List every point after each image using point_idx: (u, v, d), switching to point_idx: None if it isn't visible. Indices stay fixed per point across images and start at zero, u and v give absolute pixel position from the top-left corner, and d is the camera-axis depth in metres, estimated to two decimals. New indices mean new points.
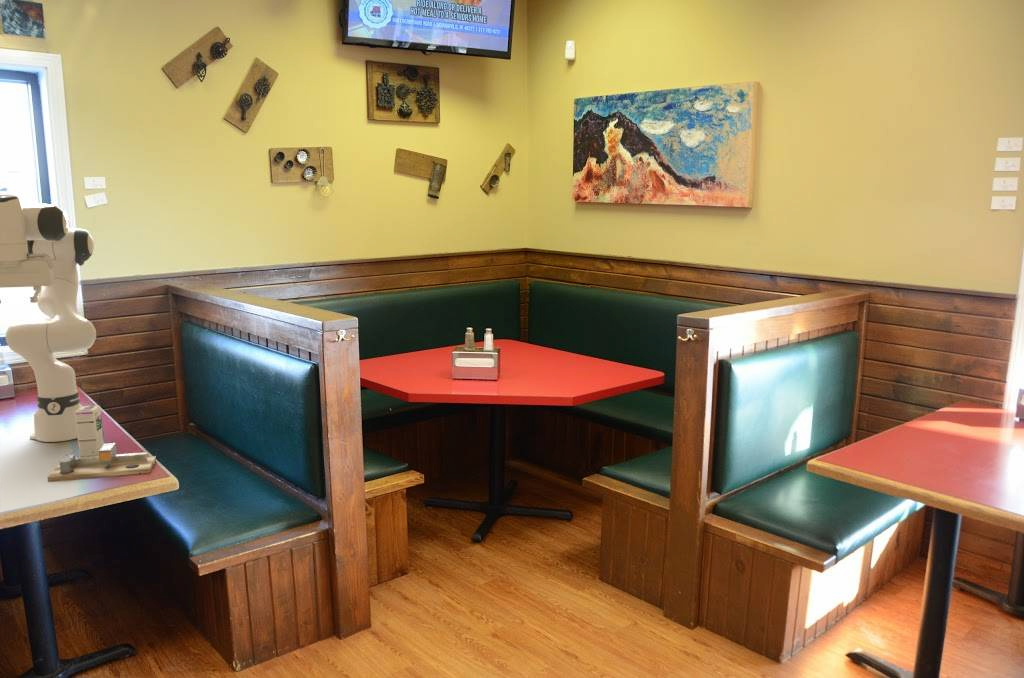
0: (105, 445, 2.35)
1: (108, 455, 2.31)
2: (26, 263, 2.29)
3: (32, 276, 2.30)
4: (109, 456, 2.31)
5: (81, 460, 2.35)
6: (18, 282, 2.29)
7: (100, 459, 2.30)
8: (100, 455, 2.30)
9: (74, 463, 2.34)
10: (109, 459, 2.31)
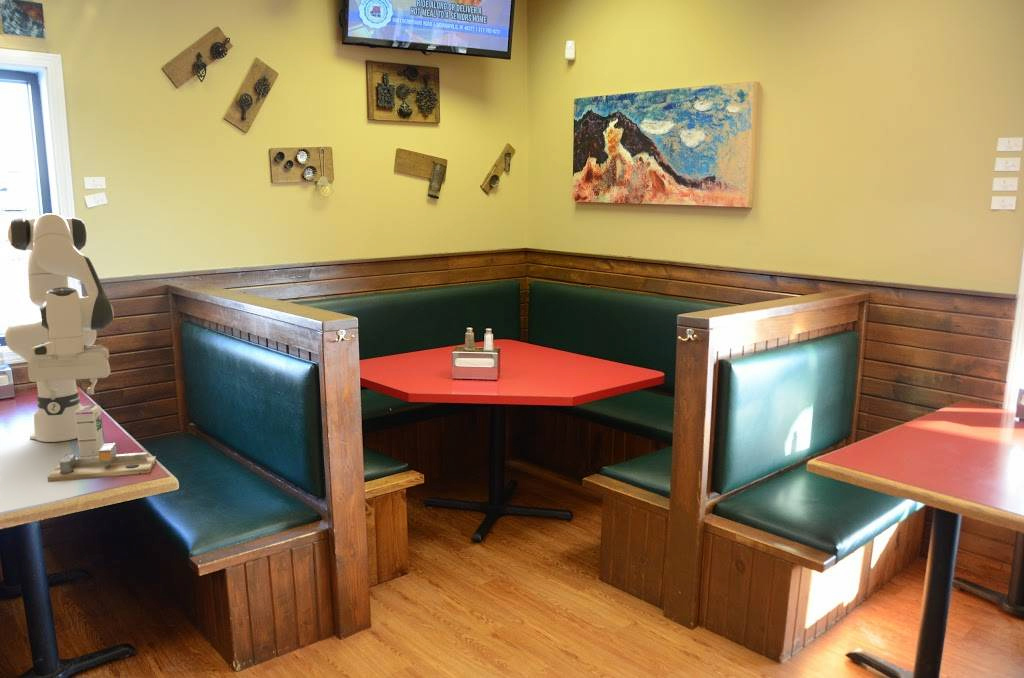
0: (105, 445, 2.35)
1: (108, 455, 2.31)
2: (83, 356, 2.27)
3: (88, 368, 2.28)
4: (109, 456, 2.31)
5: (81, 460, 2.35)
6: (75, 375, 2.27)
7: (100, 459, 2.30)
8: (100, 455, 2.30)
9: (74, 463, 2.34)
10: (109, 459, 2.31)
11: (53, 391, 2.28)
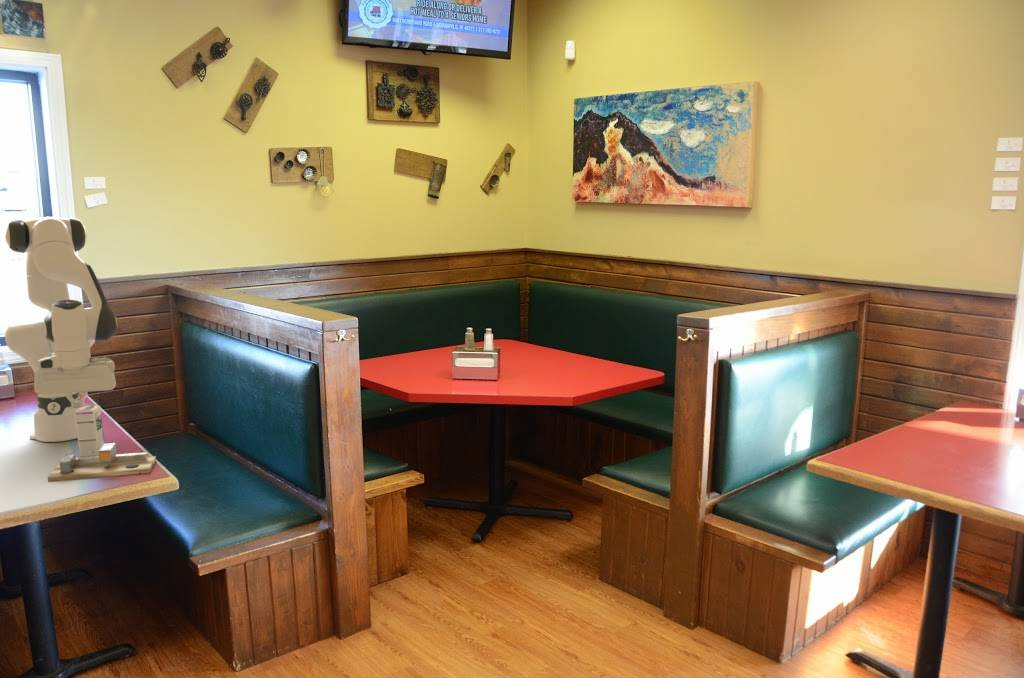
0: (105, 445, 2.35)
1: (108, 455, 2.31)
2: (89, 369, 2.28)
3: (94, 380, 2.28)
4: (109, 456, 2.31)
5: (81, 460, 2.35)
6: (81, 388, 2.28)
7: (100, 459, 2.30)
8: (100, 455, 2.30)
9: (74, 463, 2.34)
10: (109, 459, 2.31)
11: (75, 402, 2.29)
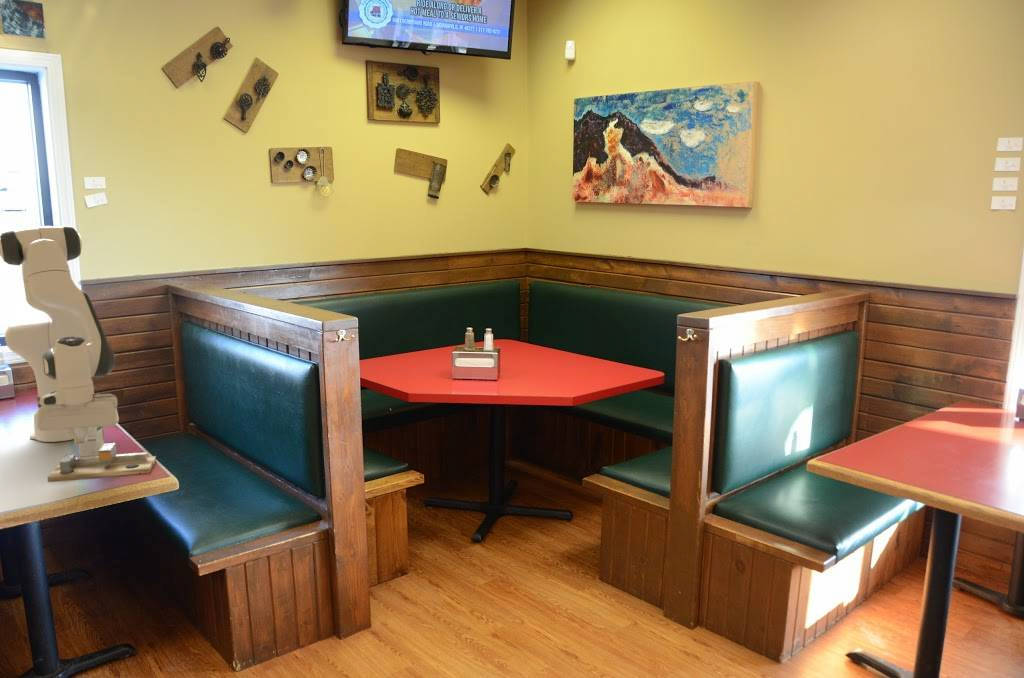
0: (105, 445, 2.35)
1: (108, 455, 2.31)
2: (92, 405, 2.29)
3: (97, 416, 2.30)
4: (109, 456, 2.31)
5: (81, 460, 2.35)
6: (84, 424, 2.29)
7: (100, 459, 2.30)
8: (100, 455, 2.30)
9: (74, 463, 2.34)
10: (109, 459, 2.31)
11: (78, 438, 2.30)
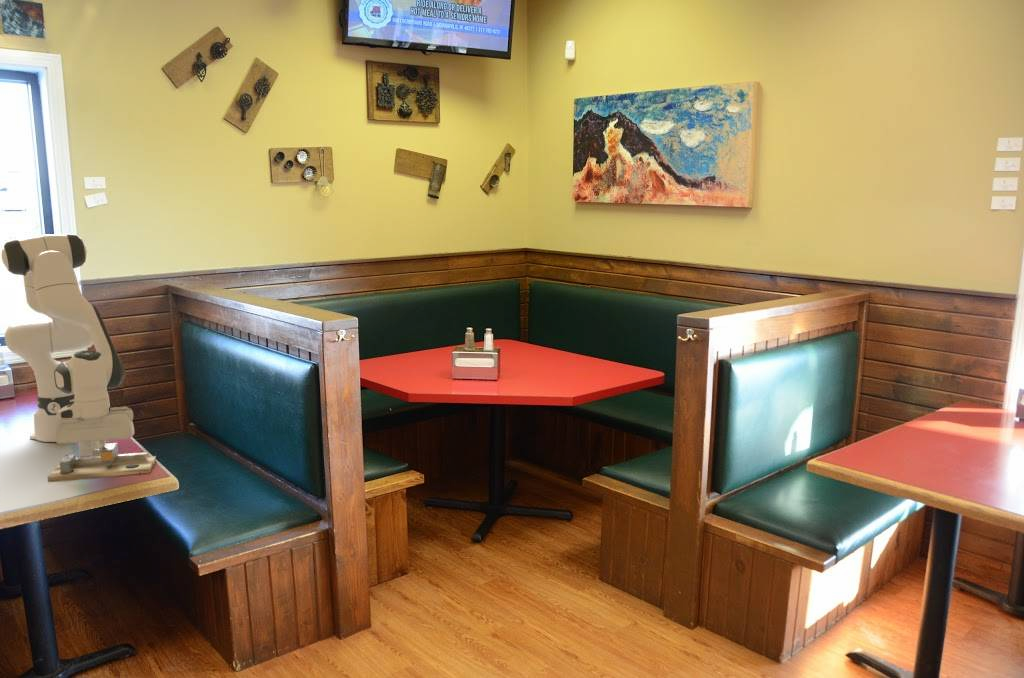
0: (107, 445, 2.35)
1: (110, 455, 2.31)
2: (108, 418, 2.31)
3: (113, 429, 2.32)
4: (111, 456, 2.31)
5: (81, 460, 2.35)
6: (100, 436, 2.31)
7: (102, 459, 2.30)
8: (102, 455, 2.30)
9: (74, 463, 2.34)
10: (111, 459, 2.31)
11: (94, 451, 2.32)
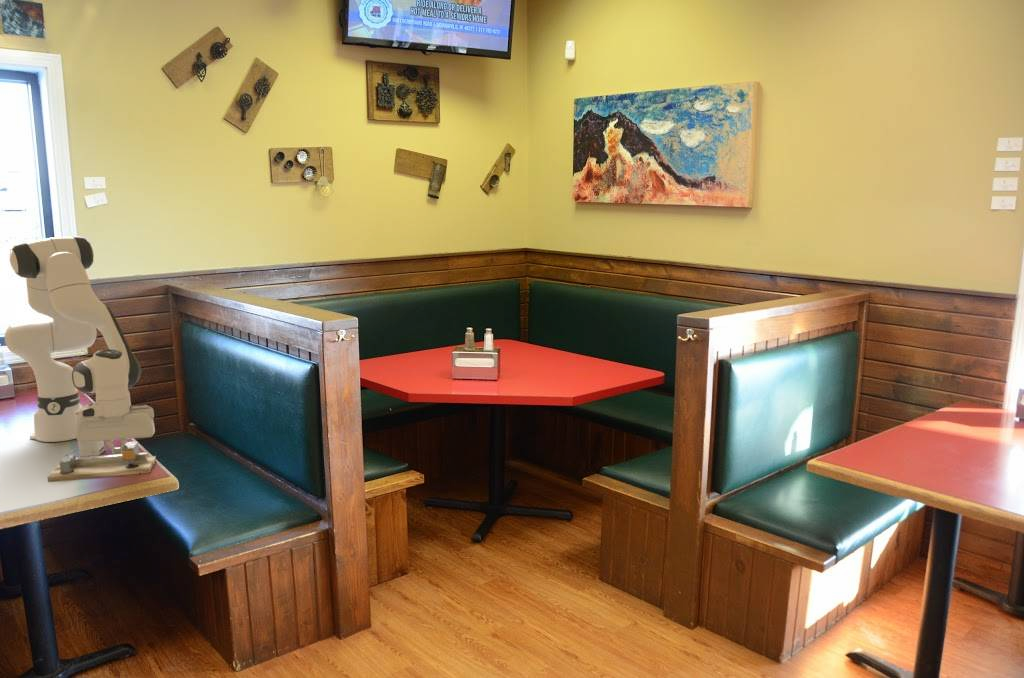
0: (128, 443, 2.37)
1: (131, 453, 2.32)
2: (129, 416, 2.32)
3: (134, 428, 2.33)
4: (132, 454, 2.32)
5: (81, 460, 2.35)
6: (122, 435, 2.32)
7: (123, 457, 2.32)
8: (123, 453, 2.32)
9: (74, 463, 2.34)
10: (132, 457, 2.32)
11: (115, 449, 2.34)
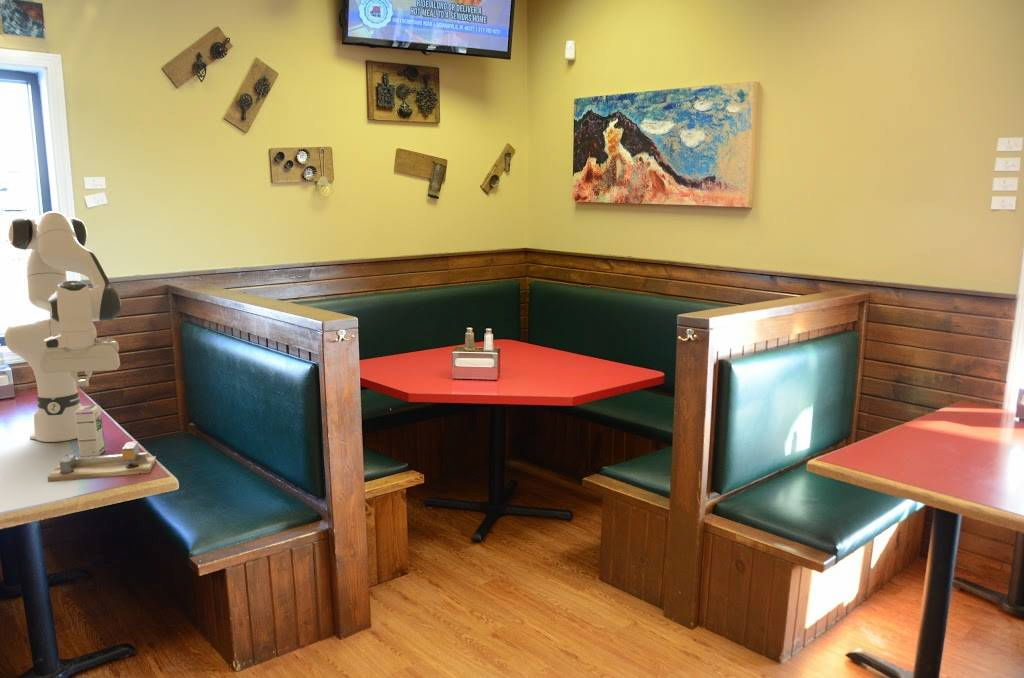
0: (128, 443, 2.37)
1: (131, 453, 2.32)
2: (94, 349, 2.32)
3: (99, 360, 2.33)
4: (132, 454, 2.32)
5: (81, 460, 2.35)
6: (86, 367, 2.32)
7: (123, 457, 2.32)
8: (123, 453, 2.32)
9: (74, 463, 2.34)
10: (132, 457, 2.32)
11: (80, 381, 2.34)
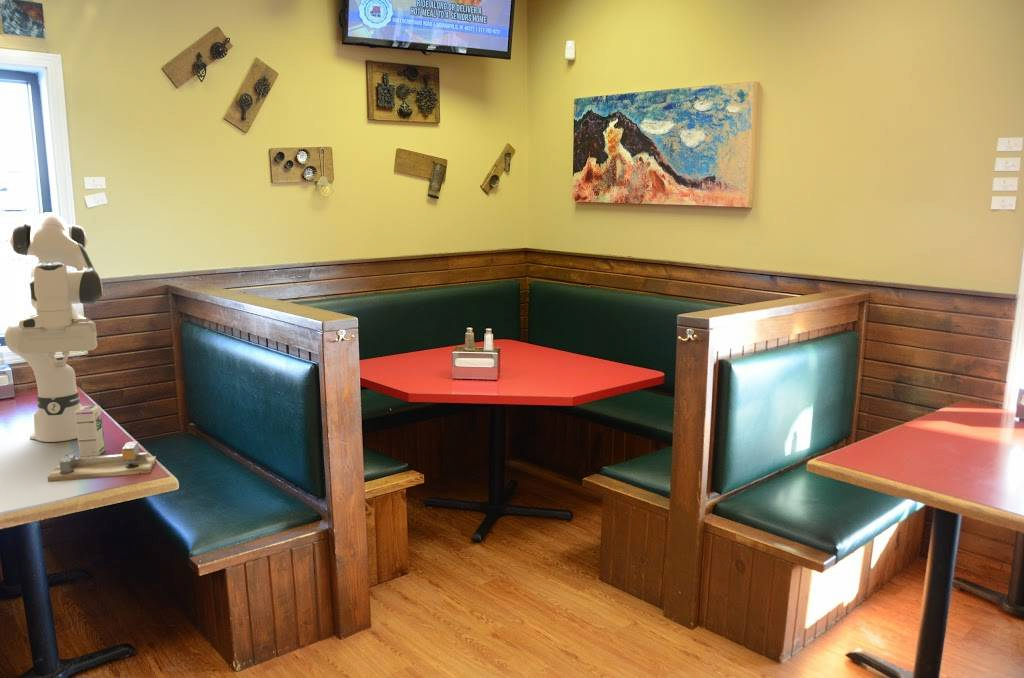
0: (128, 443, 2.37)
1: (131, 453, 2.32)
2: (71, 329, 2.33)
3: (76, 340, 2.34)
4: (132, 454, 2.32)
5: (81, 460, 2.35)
6: (63, 347, 2.34)
7: (123, 457, 2.32)
8: (123, 453, 2.32)
9: (74, 463, 2.34)
10: (132, 457, 2.32)
11: (57, 362, 2.35)
